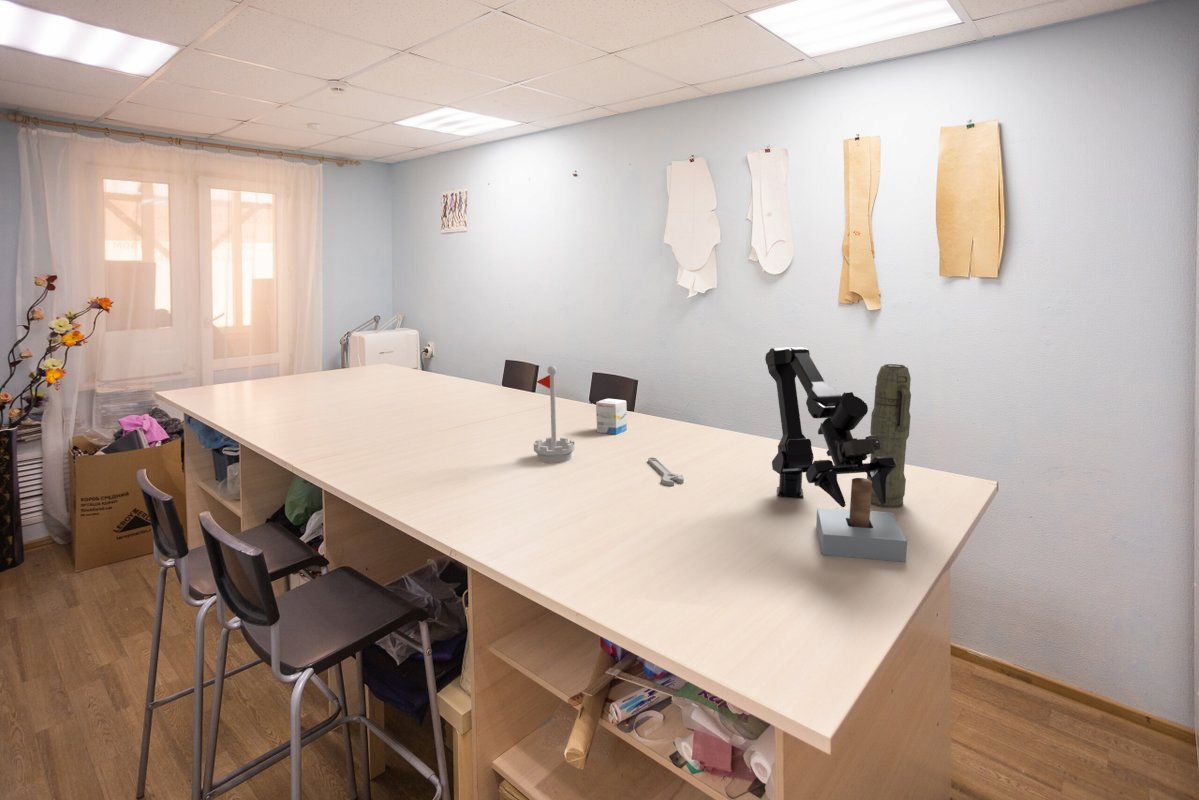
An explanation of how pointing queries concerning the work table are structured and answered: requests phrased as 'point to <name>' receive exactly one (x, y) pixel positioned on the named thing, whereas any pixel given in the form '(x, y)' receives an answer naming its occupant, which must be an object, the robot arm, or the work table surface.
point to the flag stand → (553, 430)
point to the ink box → (611, 416)
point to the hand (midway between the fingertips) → (864, 504)
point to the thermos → (892, 428)
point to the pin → (860, 502)
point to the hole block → (860, 536)
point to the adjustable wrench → (666, 473)
